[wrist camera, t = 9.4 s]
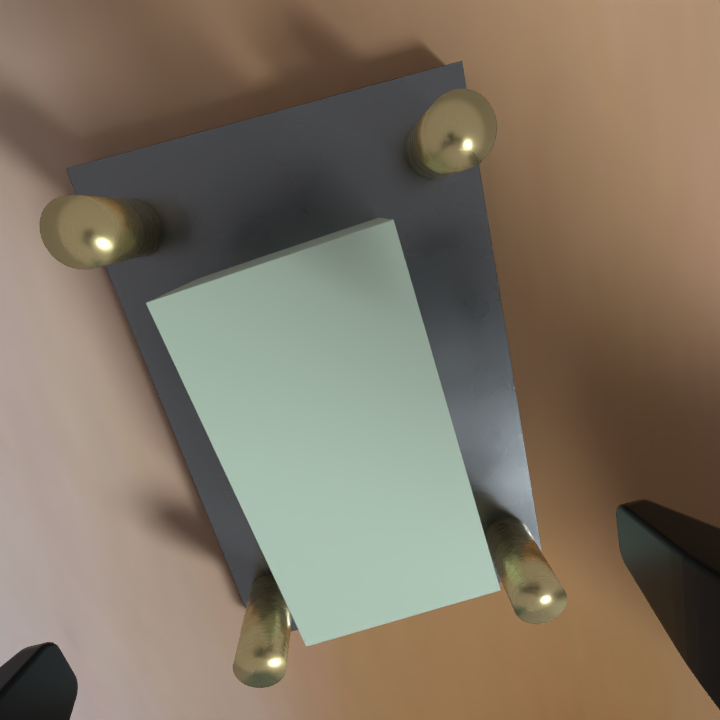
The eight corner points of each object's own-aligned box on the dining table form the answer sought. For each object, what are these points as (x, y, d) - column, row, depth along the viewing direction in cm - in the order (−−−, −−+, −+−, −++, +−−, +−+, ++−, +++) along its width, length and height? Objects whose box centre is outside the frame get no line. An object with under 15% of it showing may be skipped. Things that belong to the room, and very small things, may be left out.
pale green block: (378, 217, 14) (393, 219, 10) (463, 503, 17) (500, 590, 13) (199, 278, 14) (146, 302, 10) (313, 548, 17) (306, 646, 13)
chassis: (453, 71, 13) (498, 16, 10) (534, 553, 19) (584, 641, 15) (84, 172, 14) (-13, 156, 10) (262, 617, 19) (242, 719, 15)
